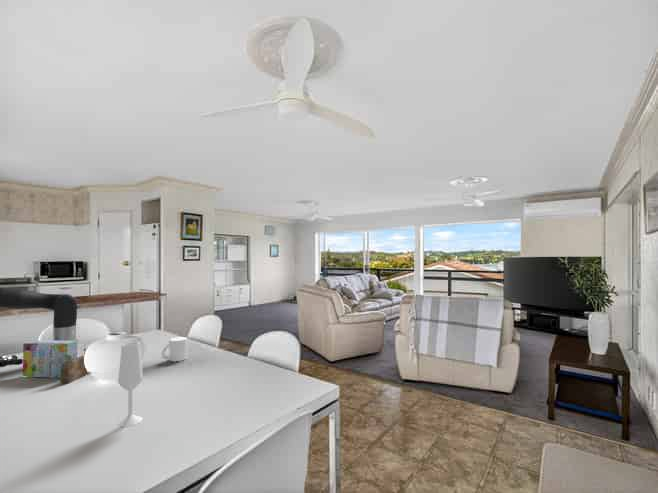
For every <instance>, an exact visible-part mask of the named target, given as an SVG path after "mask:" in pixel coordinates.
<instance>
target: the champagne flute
mask: <svg viewBox="0 0 658 493" xmlns="http://www.w3.org/2000/svg"><path fill="white" fill-rule="evenodd" d="M141 354H142V353H141V345H140V342H139V341H132V342H130V341H129V342H125V343H122V345H121V352H120V361H119V362H120V363H119V370H118V379H117V383H118V384H119V386H120V387H121V388H123V389H124V390H126V391H127V392H128V394H127V395H128V400H127V401H128V403H127V405H128V408H127V411H128V412H127V413H128V414H127V416H126V417H124V418H123V419H122V420H120V421H119V422H118V423H117V426H118V427H122V428H125V427H131V426H132V427H133V426H134V425H137V424H139V423H141V422H142V421H143V417H141V416H138V415H136V414H133V411H134V410H133V408H134V407H133V404H134V403H133V401H134V399H133V398H134V397H133V396H134V395H133V394H134V389H136V388H137V387H138V386H139V384H141V382H142V381H143V375H144V374H143V364H142V356H141Z"/></svg>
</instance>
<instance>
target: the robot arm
mask: <svg viewBox="0 0 658 493" xmlns="http://www.w3.org/2000/svg"><path fill="white" fill-rule="evenodd" d="M0 308H3V309H19V310H20V309H23V310H24V309H46V310H50V311H51V310H52V311H53V322H52V324H53V326H52V327H53V331H52V332H53V333H52V334H53V336H52V337H53V338H52V341H76V358H78V339H77V320H78V301H77V299H76V298H75V297H74V295H71V294H67V293H61V294H60V293H42V292H37V291H32V290H26V289H20V288H11V287H0ZM19 365H23V358H18V356H17V355H16V354H13V355H11V356H4V355H3V356H1V355H0V368H5V367H7V366H9V367H10V366H19Z"/></svg>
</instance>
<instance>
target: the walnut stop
mask: <svg viewBox="0 0 658 493" xmlns="http://www.w3.org/2000/svg"><path fill="white" fill-rule="evenodd" d="M87 348H88V347H86V348H84V350H83V351H84V352H83V353H84V354H83V355H81V356H79V357H78V356H77V358H76V359H73V354H69V355H67V362H65V363H63V364H61V378H60V384H61V383H64V384H66V385H67V384H70V383H73V382H75V381H77V380H79V379H81V378H83V377H85V376H88V375H90V374H89V373H88V372H87V370H86V368H85V365H84V355H85V351H86V349H87Z"/></svg>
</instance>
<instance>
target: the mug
mask: <svg viewBox="0 0 658 493" xmlns="http://www.w3.org/2000/svg"><path fill="white" fill-rule="evenodd" d="M166 350H168V354H169V355H166ZM161 356H162V358H163V359H164V360H169V362H171V361H173V362H172V363H177V362H176V361H179V362H183V361H185V359H186V360H187V359H188V338H187V337H186V336H185V337H184V336H178V337H172V338H170V339H169V340H168V343H167V344H166V345H165V346H164V348H163V350H162V351H161ZM182 360H183V361H182Z"/></svg>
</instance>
